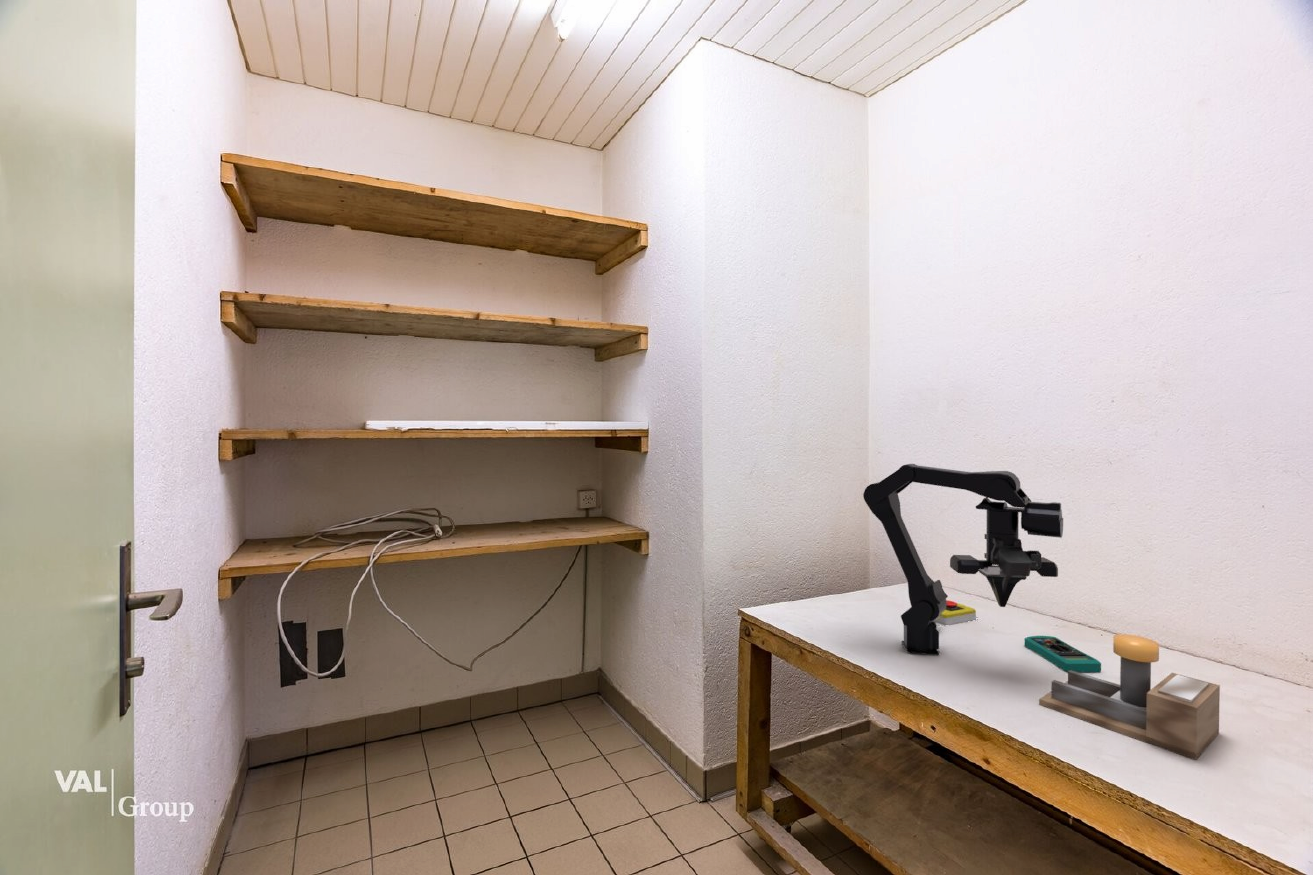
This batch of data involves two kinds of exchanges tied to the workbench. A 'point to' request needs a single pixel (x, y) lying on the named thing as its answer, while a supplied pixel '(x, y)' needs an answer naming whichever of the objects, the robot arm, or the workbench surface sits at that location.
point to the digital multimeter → (1062, 654)
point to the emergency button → (955, 614)
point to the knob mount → (1145, 710)
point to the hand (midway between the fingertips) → (1001, 606)
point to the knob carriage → (1135, 667)
